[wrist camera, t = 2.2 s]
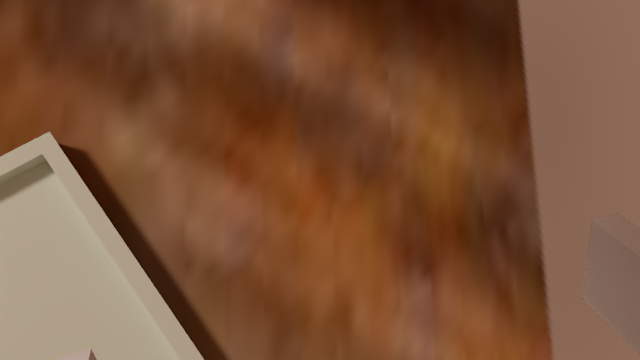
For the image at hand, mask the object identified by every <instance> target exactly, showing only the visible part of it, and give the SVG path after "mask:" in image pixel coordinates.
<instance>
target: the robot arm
mask: <svg viewBox="0 0 640 360" xmlns="http://www.w3.org/2000/svg"><path fill="white" fill-rule="evenodd" d="M589 241H590V242H589V249H588V258H587V267H586V276H585V285H584V294H583V300H585V301H586V302H587V303H588V304H589V305H590V306H591V307H592V308H593V309H594V310H595V311H596V312H597V313H598V314H599V315H600V316H601V317H602V318H603V319H604V320H605V321H606V322H607V323H608V324H609V325H610V326H611V327H612V328H613V329H614V330H615V331H616V332H617V333H618V334H619V335H620V336H621V337H622V338H623V339H624V340H625V341H626V342H627V343H628V344H629V345H630V346H631V347H632V348H633V349H634V350H635V351H636V352H637V353H638V354H639V355H640V228H638V227H637V226H635V225H634V224H633V223H631V222H630V221H628V220H627V219H625V218H624V217H622V216H621V215H620V214H618V213H617V214H613V215H609V216H605V217H601V218H597V219H593V220H592V224H591V232H590V240H589ZM57 360H97V359H96V357H95V355H94V353H93V351H92V349H88V350H84V351H80V352H76V353H72V354H68V355H64V356H60V357H58V359H57Z"/></svg>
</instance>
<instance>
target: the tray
mask: <svg viewBox="0 0 640 360" xmlns="http://www.w3.org/2000/svg"><path fill="white" fill-rule="evenodd" d="M88 349H92V351H93V353H94V355H95V357H96V359H97V360H204V359H203V357H202V356H201V354H200V353H199V351H198V350H197V348H196V347H195V345H194V344H193V342H192V341H191V339H190V338H189V336H188V335H187V334H186V332H185V331H184V329H183V328H182V326H181V325H180V323H179V322H178V320H177V319H176V317H175V316H174V314H173V313H172V311H171V310H170V308H169V307H168V306H167V304H166V303H165V301H164V300H163V298H162V297H161V295H160V294H159V292H158V291H157V289H156V288H155V286H154V285H153V283H152V282H151V280H150V279H149V278H148V276H147V275H146V273H145V272H144V270H143V269H142V267H141V266H140V264H139V263H138V261H137V260H136V258H135V257H134V255H133V254H132V252H131V251H130V250H129V248H128V247H127V245H126V244H125V242H124V241H123V239H122V238H121V236H120V235H119V233H118V232H117V230H116V229H115V227H114V226H113V224H112V223H111V222H110V220H109V219H108V217H107V216H106V214H105V213H104V211H103V210H102V208H101V207H100V205H99V204H98V202H97V201H96V199H95V198H94V196H93V195H92V194H91V192H90V191H89V189H88V188H87V186H86V185H85V183H84V182H83V180H82V179H81V177H80V176H79V174H78V173H77V171H76V170H75V168H74V167H73V166H72V164H71V163H70V161H69V160H68V158H67V157H66V155H65V154H64V152H63V151H62V149H61V148H60V146H59V145H58V143H57V142H56V140H55V139H54V138H53V136H52V135H51V133H50V132H48V133H46V134H44V135H42V136H40V137H38V138H36V139H34V140H32V141H30V142H28V143H26V144H24V145H22V146H20V147H18V148H16V149H14V150H13V151H11V152H9V153H7V154H5V155H3V156H1V157H0V360H57V359H58V357H60V356H64V355H68V354H72V353H76V352H80V351H84V350H88Z"/></svg>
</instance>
